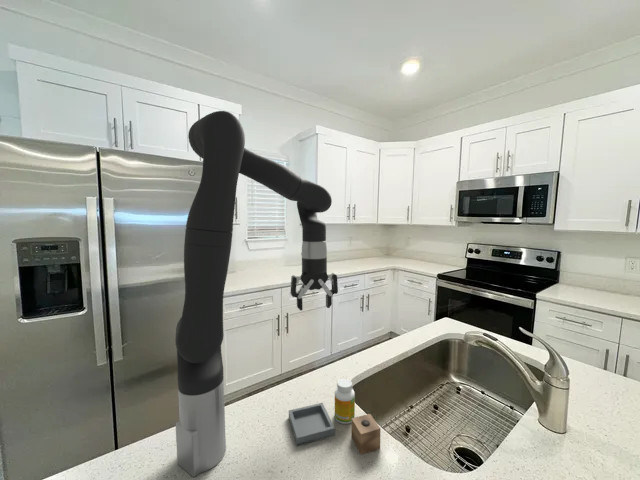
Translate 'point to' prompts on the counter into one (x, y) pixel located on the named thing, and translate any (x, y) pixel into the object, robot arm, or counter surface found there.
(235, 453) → the counter surface
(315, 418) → the tray
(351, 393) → the supplement bottle
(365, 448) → the wooden block with knob
